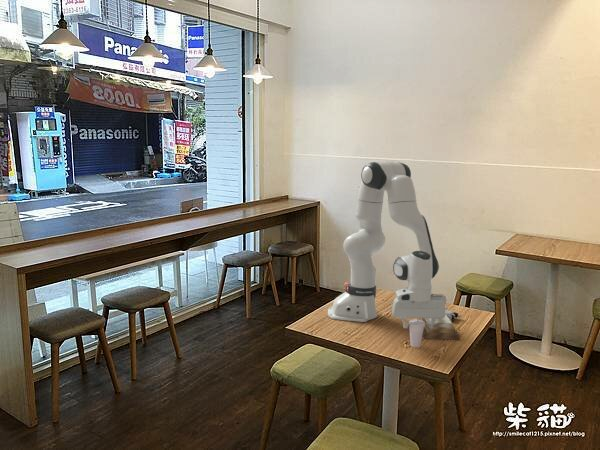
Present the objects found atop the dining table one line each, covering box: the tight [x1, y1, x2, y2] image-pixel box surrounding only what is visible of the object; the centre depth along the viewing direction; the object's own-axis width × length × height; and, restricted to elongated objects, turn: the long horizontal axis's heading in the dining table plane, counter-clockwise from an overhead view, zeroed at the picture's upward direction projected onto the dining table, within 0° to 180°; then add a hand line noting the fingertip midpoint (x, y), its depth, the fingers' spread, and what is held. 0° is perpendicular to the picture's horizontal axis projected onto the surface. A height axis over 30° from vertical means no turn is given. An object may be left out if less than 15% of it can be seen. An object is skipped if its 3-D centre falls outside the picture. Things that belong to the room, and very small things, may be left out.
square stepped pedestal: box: [421, 315, 460, 341], centre depth 207 cm, size 14×14×6 cm
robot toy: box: [445, 305, 462, 322], centre depth 224 cm, size 12×4×15 cm
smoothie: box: [407, 318, 425, 348], centre depth 192 cm, size 6×6×14 cm
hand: (417, 328), depth 192 cm, fingers open, 8 cm apart
